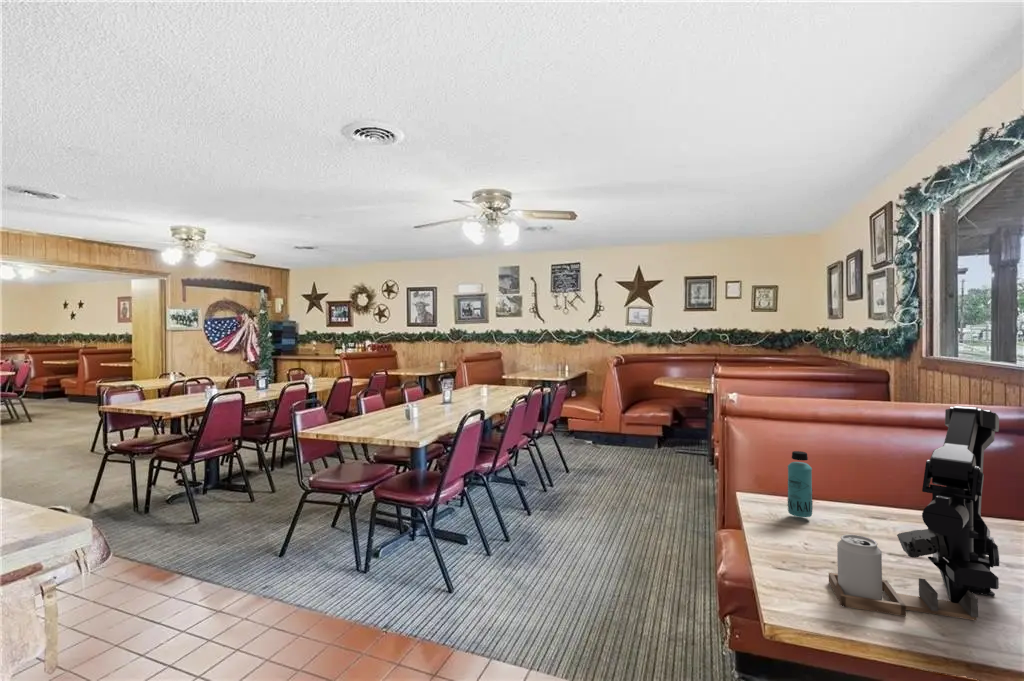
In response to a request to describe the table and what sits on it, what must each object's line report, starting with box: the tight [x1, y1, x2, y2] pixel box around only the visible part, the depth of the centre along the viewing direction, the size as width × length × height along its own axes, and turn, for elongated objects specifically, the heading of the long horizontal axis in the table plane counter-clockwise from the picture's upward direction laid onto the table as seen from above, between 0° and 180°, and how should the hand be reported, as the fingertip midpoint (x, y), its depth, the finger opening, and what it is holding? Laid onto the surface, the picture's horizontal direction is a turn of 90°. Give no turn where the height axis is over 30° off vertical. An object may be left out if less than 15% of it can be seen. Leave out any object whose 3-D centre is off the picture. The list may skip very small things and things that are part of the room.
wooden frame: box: [828, 572, 979, 621], centre depth 98 cm, size 22×11×4 cm, turn 68°
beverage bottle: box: [786, 450, 814, 518], centre depth 146 cm, size 6×7×20 cm
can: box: [836, 533, 883, 600], centre depth 101 cm, size 8×8×12 cm
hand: (953, 602), depth 95 cm, fingers closed
